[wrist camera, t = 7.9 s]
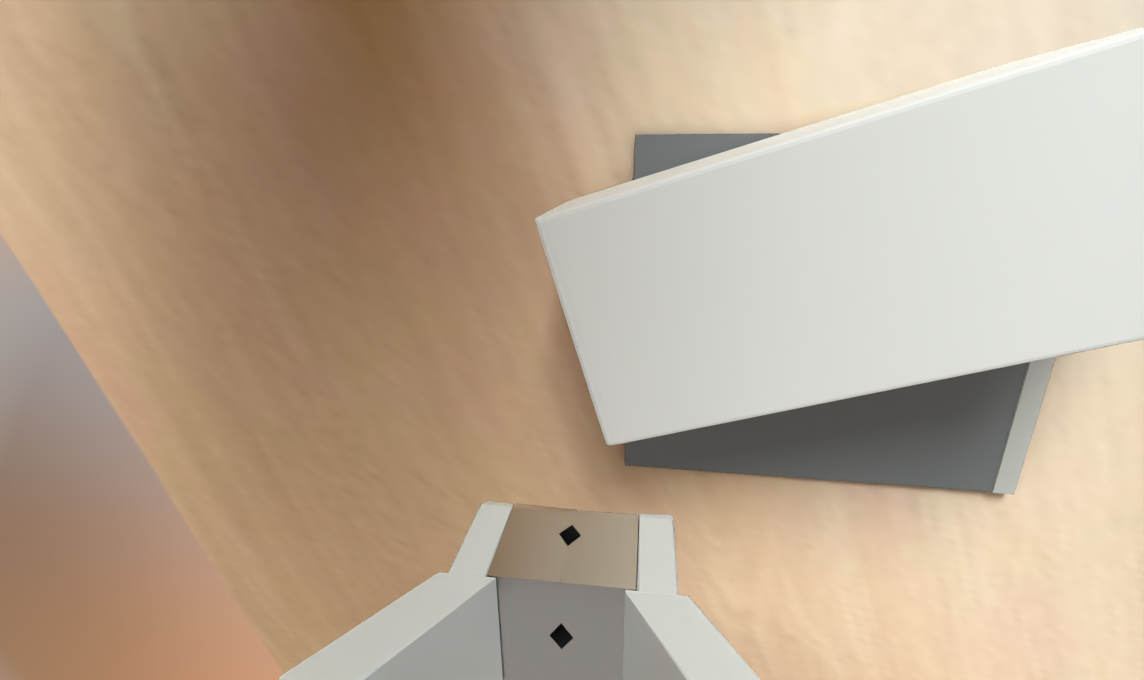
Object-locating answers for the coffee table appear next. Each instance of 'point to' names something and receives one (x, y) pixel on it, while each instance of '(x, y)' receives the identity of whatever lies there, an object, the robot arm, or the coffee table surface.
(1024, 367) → the mat
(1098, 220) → the milk carton
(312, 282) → the coffee table surface
